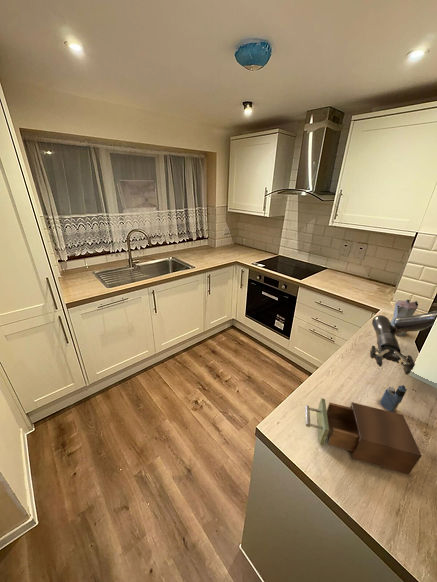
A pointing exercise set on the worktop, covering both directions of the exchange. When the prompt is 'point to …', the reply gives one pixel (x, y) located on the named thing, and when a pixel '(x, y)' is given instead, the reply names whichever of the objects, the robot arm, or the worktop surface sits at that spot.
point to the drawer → (335, 425)
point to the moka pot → (404, 311)
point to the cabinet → (384, 439)
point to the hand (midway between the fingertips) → (393, 368)
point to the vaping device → (393, 398)
